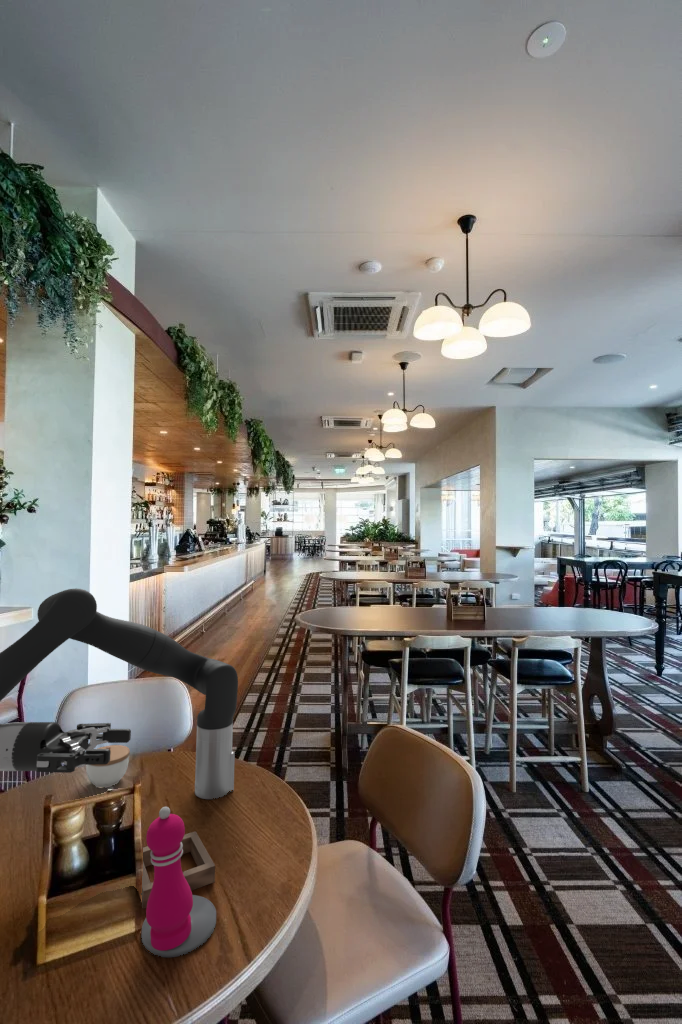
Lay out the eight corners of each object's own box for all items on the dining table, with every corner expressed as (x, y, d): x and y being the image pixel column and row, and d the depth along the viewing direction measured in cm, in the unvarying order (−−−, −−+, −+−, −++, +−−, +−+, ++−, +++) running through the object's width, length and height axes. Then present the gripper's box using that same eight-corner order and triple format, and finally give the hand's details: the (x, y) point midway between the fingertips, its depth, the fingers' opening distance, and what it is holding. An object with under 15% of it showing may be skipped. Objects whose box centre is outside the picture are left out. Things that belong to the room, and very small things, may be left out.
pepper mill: (203, 922, 80) (196, 797, 82) (175, 958, 73) (167, 821, 75) (167, 915, 83) (161, 794, 84) (137, 949, 76) (130, 817, 77)
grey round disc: (204, 891, 90) (204, 886, 90) (225, 936, 80) (226, 929, 80) (135, 918, 83) (135, 911, 83) (149, 970, 73) (149, 963, 73)
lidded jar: (135, 781, 130) (137, 746, 131) (94, 797, 122) (96, 759, 123) (117, 769, 137) (119, 735, 138) (77, 783, 129) (79, 747, 130)
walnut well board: (195, 845, 103) (195, 831, 103) (214, 881, 92) (215, 865, 92) (130, 866, 96) (130, 851, 96) (142, 908, 85) (143, 891, 85)
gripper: (-3, 740, 75) (103, 740, 76) (48, 709, 89) (136, 709, 90) (-6, 790, 75) (100, 789, 75) (46, 750, 89) (135, 750, 90)
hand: (120, 745), depth 83 cm, fingers open, 8 cm apart
